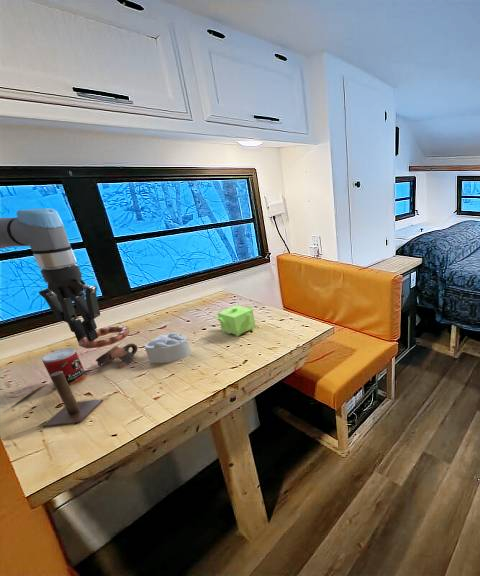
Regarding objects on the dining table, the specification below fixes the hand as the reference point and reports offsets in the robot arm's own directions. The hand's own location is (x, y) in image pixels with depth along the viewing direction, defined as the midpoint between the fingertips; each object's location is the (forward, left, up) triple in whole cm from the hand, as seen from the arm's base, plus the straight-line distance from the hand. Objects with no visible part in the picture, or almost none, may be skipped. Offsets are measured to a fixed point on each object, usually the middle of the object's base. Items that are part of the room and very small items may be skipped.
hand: (88, 339), depth 93 cm
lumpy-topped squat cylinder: (+12, +16, -18) cm, 27 cm away
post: (-1, -12, -18) cm, 22 cm away
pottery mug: (-5, +15, -18) cm, 24 cm away
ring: (+5, 0, +1) cm, 5 cm away
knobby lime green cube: (+31, +33, -18) cm, 49 cm away
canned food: (-15, +6, -18) cm, 24 cm away
